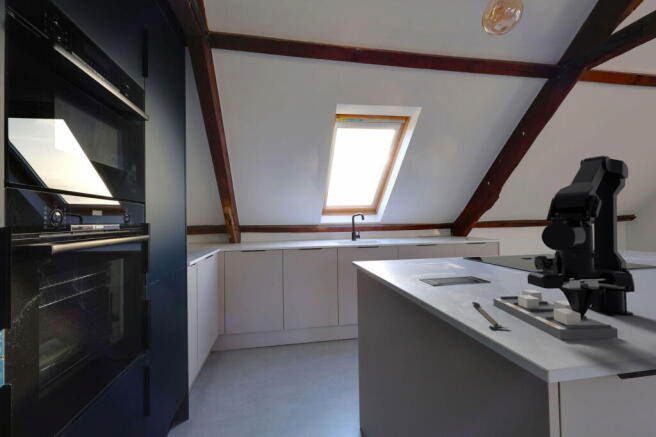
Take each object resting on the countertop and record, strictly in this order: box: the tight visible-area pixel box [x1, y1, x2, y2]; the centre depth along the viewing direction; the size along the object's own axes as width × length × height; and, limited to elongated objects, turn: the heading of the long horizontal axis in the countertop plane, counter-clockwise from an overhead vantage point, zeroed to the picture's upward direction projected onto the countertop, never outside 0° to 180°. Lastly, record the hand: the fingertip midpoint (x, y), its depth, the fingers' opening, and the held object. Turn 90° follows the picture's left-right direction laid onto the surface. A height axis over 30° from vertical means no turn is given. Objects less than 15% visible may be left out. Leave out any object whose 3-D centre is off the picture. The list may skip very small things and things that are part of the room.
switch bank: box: [492, 295, 619, 341], centre depth 74 cm, size 12×25×3 cm, turn 0°
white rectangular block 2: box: [553, 300, 572, 310], centre depth 71 cm, size 3×4×2 cm
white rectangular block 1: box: [521, 289, 543, 301], centre depth 83 cm, size 3×4×2 cm
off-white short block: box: [554, 308, 581, 325], centre depth 65 cm, size 3×4×2 cm
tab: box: [517, 294, 539, 308], centre depth 77 cm, size 3×4×2 cm
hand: (578, 317), depth 65 cm, fingers closed
